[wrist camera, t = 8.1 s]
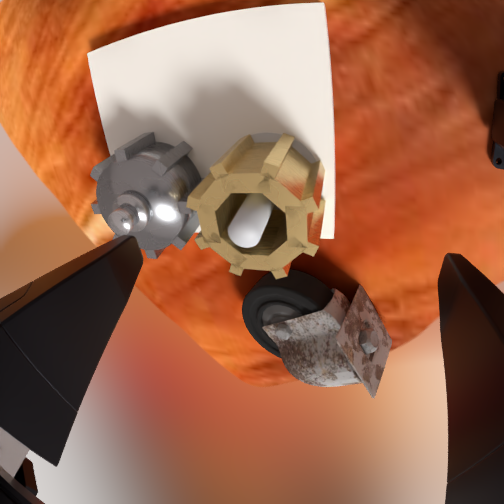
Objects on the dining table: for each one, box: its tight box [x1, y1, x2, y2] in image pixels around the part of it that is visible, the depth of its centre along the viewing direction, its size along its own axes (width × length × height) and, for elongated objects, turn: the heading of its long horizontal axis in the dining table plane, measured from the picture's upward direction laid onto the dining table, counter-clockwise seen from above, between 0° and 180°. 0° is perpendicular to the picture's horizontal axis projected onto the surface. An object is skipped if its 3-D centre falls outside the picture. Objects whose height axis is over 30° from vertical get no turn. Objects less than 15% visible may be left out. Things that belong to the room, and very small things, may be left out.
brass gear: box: [186, 133, 326, 279], centre depth 18 cm, size 7×7×5 cm
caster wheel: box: [242, 269, 392, 398], centre depth 26 cm, size 7×11×10 cm
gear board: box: [87, 3, 335, 248], centre depth 17 cm, size 16×15×8 cm
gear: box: [90, 132, 205, 259], centre depth 20 cm, size 8×8×6 cm
